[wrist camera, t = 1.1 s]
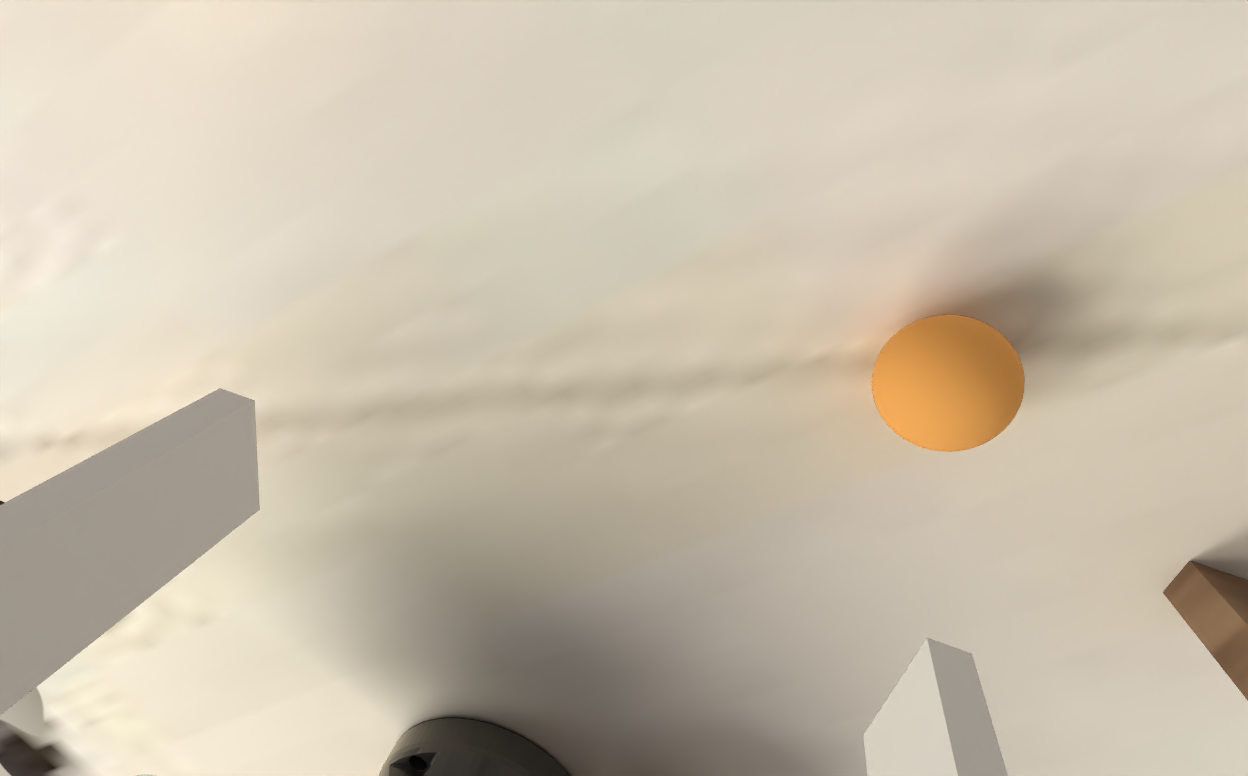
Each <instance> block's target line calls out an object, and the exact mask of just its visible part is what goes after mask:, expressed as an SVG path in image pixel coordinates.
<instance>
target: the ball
mask: <svg viewBox="0 0 1248 776" xmlns="http://www.w3.org/2000/svg"><path fill="white" fill-rule="evenodd" d="M1024 380H1025V379H1024V372H1023V368H1022V364H1021V361H1020V358H1019V356H1018V354H1017V352H1016V351H1015V349H1014V348H1013V346H1012V345H1011V344H1010V342H1009V341H1008V340H1007V339H1006V338H1005V337H1004V336H1003V335H1002V334H1001V333H1000V332H998V331H997V330H996V329H994V328H993V327H991V326H990V325H988V324H986V323H984V322H982V321H979V320H976V319H973V318H970V317H966V316H960V315H938V316H932V317H927V318H923V319H921V320H918V321H915V322H913V323H911V324H909V325H907V326H906V327H904V328H903V329H901V330H900V331H898V332H897V333H896V334H895V335H894V336H893V337H892V338H891V339H890V340H889V341H888V342H887V343H886V345H885V346H884V347H883V349H882V350H881V352H880V354H879V355H878V358H877V360H876V363H875V366H874V370H873V375H872V391H873V397H874V401H875V404H876V406H877V409H878V411H879V413H880V414H881V416H882V418H883V419H884V421H885V422H886V423H887V425H888V426H889V427H890V428H891V429H892V430H893V431H894V432H895V433H896V434H898V435H899V436H901V437H902V438H903V439H905V440H907V441H909V442H911V443H912V444H915V445H917V446H920V447H922V448H926V449H930V450H937V451H960V450H966V449H970V448H974V447H976V446H979V445H981V444H984V443H986V442H988V441H989V440H991V439H993V438H994V437H996V436H997V435H998V434H1000V433H1001V432H1002V431H1003V430H1004V429H1005V428H1006V427H1007V426H1008V425H1009V424H1010V422H1011V421H1012V419H1013V418H1014V417H1015V415H1016V413H1017V411H1018V409H1019V407H1020V405H1021V402H1022V399H1023V393H1024Z"/></svg>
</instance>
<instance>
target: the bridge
mask: <svg viewBox="0 0 1248 776" xmlns="http://www.w3.org/2000/svg"><path fill="white" fill-rule="evenodd" d="M1163 593H1164V595H1165V596H1166V597H1167V598H1168V600H1169V601H1170V602H1171V603H1172V605H1173V606H1174V607H1175V609H1176V610H1177V611H1178V612H1179V614H1180V615H1181V616H1182V617H1183V619H1184V620H1185V621H1186V623H1187V624H1188V625H1189V626H1190V628H1191V629H1192V630H1193V631H1194V633H1195V634H1196V635H1197V636H1198V638H1199V639H1200V640H1201V642H1202V643H1203V644H1204V645H1205V647H1206V648H1207V649H1208V650H1209V652H1210V653H1211V654H1212V656H1213V657H1214V658H1215V659H1216V661H1217V662H1218V663H1219V664H1220V666H1221V667H1222V668H1223V670H1224V671H1225V672H1226V673H1227V675H1228V676H1229V677H1230V678H1231V680H1232V681H1233V682H1234V684H1235V685H1236V686H1237V687H1238V689H1239V690H1240V691H1241V692H1242V694H1243V695H1244V696H1245V698H1246V699H1247V700H1248V580H1245V579H1242V578H1239V577H1236V576H1233V575H1230V574H1227V573H1224V572H1221V571H1218V570H1215V569H1212V568H1209V567H1206V566H1203V565H1201V564H1198V563H1195V562H1192V561H1189V563H1188V564H1187V565H1186V566H1185V567H1184V568H1183V570H1182V571H1181V572H1180V573H1179V574H1178V576H1177V577H1176V578H1175V579H1174V580H1173V581H1172V583H1171V584H1170V585H1169V586H1168V587H1167V589H1166V590H1165V591H1164V592H1163Z"/></svg>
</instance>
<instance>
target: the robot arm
mask: <svg viewBox="0 0 1248 776" xmlns="http://www.w3.org/2000/svg"><path fill="white" fill-rule="evenodd" d="M258 510H260V506H259V485H258V463H257V442H256V421H255V401H254V400H252V399H249V398H246V397H243V396H240V395H237V394H235V393H232V392H229V391H226V390H223V389H218V390H216V391H214V392H212V393H210V394H209V395H207V396H205V397H203V398H201V399H199V400H197V401H195V402H193V403H192V404H190V405H188V406H186V407H184V408H182V409H180V410H178V411H177V412H175V413H173V414H171V415H169V416H167V417H165V418H163V419H162V420H160V421H158V422H156V423H154V424H152V425H150V426H148V427H146V428H145V429H143V430H141V431H139V432H137V433H135V434H133V435H131V436H130V437H128V438H126V439H124V440H122V441H120V442H118V443H116V444H115V445H113V446H111V447H109V448H107V449H105V450H103V451H101V452H100V453H98V454H96V455H94V456H92V457H90V458H88V459H86V460H84V461H83V462H81V463H79V464H77V465H75V466H73V467H71V468H69V469H68V470H66V471H64V472H62V473H60V474H58V475H56V476H54V477H53V478H51V479H49V480H47V481H45V482H43V483H41V484H39V485H37V486H36V487H34V488H32V489H30V490H28V491H26V492H24V493H22V494H21V495H19V496H17V497H15V498H13V499H11V500H9V501H7V502H6V503H5V502H2V501H0V715H1V714H3V713H4V712H5V711H7V710H8V709H9V708H10V707H12V706H13V705H14V704H15V703H17V702H18V701H19V700H20V699H22V698H23V697H24V696H25V695H26V694H28V693H29V692H31V691H32V690H33V689H34V688H36V687H37V686H38V685H39V684H41V683H42V682H43V681H44V680H46V679H47V678H48V677H49V676H51V675H52V674H53V673H54V672H56V671H57V670H58V669H59V668H61V667H62V666H63V665H64V664H66V663H67V662H68V661H70V660H71V659H72V658H73V657H75V656H76V655H77V654H78V653H80V652H81V651H82V650H83V649H85V648H86V647H87V646H88V645H90V644H91V643H92V642H93V641H95V640H96V639H97V638H98V637H100V636H101V635H102V634H104V633H105V632H106V631H107V630H109V629H110V628H111V627H112V626H114V625H115V624H116V623H117V622H119V621H120V620H121V619H122V618H124V617H125V616H126V615H127V614H129V613H130V612H131V611H132V610H134V609H135V608H136V607H138V606H139V605H140V604H141V603H143V602H144V601H145V600H146V599H148V598H149V597H150V596H151V595H153V594H154V593H155V592H156V591H158V590H159V589H160V588H161V587H163V586H164V585H165V584H166V583H168V582H169V581H170V580H171V579H173V578H174V577H175V576H177V575H178V574H179V573H180V572H182V571H183V570H184V569H185V568H187V567H188V566H189V565H190V564H192V563H193V562H194V561H195V560H197V559H198V558H199V557H200V556H202V555H203V554H204V553H205V552H207V551H208V550H209V549H211V548H212V547H213V546H214V545H216V544H217V543H218V542H219V541H221V540H222V539H223V538H224V537H226V536H227V535H228V534H229V533H231V532H232V531H233V530H234V529H236V528H237V527H238V526H239V525H241V524H242V523H243V522H245V521H246V520H247V519H248V518H250V517H251V516H252V515H253V514H255V513H256V512H257V511H258ZM863 736H864V747H865V758H866V768H867V776H1008V775H1007V772H1006V768H1005V765H1004V762H1003V758H1002V755H1001V751H1000V748H999V745H998V741H997V738H996V735H995V731H994V728H993V724H992V721H991V718H990V714H989V711H988V707H987V704H986V701H985V697H984V694H983V691H982V687H981V684H980V680H979V677H978V674H977V670H976V667H975V664H974V660H973V657H972V654H971V653H968V652H965V651H963V650H960V649H957V648H954V647H951V646H948V645H946V644H943V643H940V642H937V641H934V640H931V639H929V638H927V639H926V640H925V642H924V643H923V645H922V646H921V648H920V649H919V651H918V652H917V654H916V655H915V657H914V658H913V660H912V661H911V663H910V665H909V666H908V668H907V669H906V671H905V672H904V674H903V675H902V677H901V678H900V680H899V681H898V683H897V684H896V686H895V687H894V689H893V691H892V692H891V694H890V695H889V697H888V698H887V700H886V701H885V703H884V704H883V706H882V707H881V709H880V710H879V712H878V713H877V715H876V716H875V718H874V720H873V721H872V723H871V724H870V726H869V727H868V729H867V730H866V732H865V733H864V735H863ZM137 776H154V775H137ZM379 776H569V775H568V774H567V773H566V772H565V771H564V769H563V768H562V767H561V766H560V765H559V764H558V763H557V762H556V761H555V760H554V759H553V758H551V757H550V756H549V755H548V754H547V753H545V752H544V751H543V750H541V749H540V748H539V747H537V746H536V745H534V744H533V743H531V742H529V741H528V740H526V739H524V738H522V737H520V736H519V735H516V734H514V733H512V732H510V731H508V730H505V729H503V728H500V727H497V726H494V725H491V724H488V723H484V722H480V721H475V720H468V719H458V718H446V719H436V720H431V721H427V722H424V723H421V724H419V725H416V726H414V727H413V728H411V729H409V730H408V731H407V732H405V733H404V734H403V735H402V736H401V738H400V739H399V740H398V742H397V743H396V745H395V747H394V748H393V750H392V752H391V753H390V755H389V757H388V758H387V760H386V762H385V763H384V765H383V767H382V769H381V771H380V774H379Z"/></svg>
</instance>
